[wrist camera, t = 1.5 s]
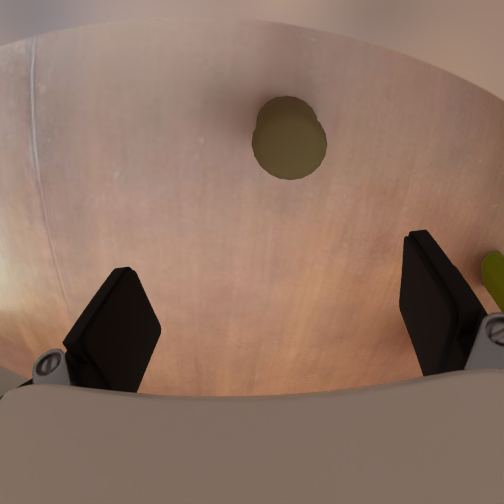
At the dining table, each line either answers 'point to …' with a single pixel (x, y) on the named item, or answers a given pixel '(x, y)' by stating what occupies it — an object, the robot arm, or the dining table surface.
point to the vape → (494, 277)
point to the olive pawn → (288, 138)
